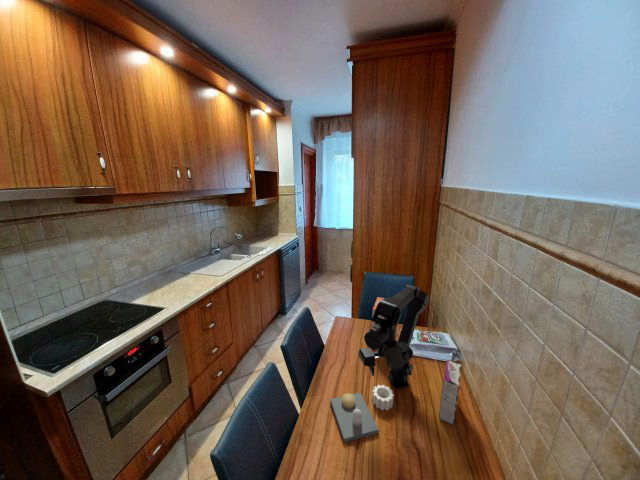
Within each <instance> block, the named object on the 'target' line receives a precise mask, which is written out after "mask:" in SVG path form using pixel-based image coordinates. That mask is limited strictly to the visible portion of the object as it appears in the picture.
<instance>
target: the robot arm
mask: <svg viewBox="0 0 640 480" xmlns="http://www.w3.org/2000/svg"><path fill="white" fill-rule="evenodd" d="M429 303H430V297H429V295H428V294H427V293H426V292H424V291H423V290H422V289H421V288H420V287H419V286H415V285H412V284H406V285H405V286H404V288H403V289H402V290H400V291H399V292H397V293H396V294H395V295H393V296H392V297H385V299H382V300H381V301H380V302H379V303H378V304H377V307H376V310H375V312H374V315H373V317H372V316H371V317H372V318H371V319H370V320H371V322H372V321H373V322H375V326H374V327H372V326H371V328H370V329H369V330H368V331H367V332H366V333H365V335H364V337H363V338H364V342H365V345H366V346H367V347H366V348H365V347H364V348H360V349H359V350H358V357H359V359H360V362H361V363H362V364H363V366H364V367H365V366H366V367H368V369H369V371H370V374H371V376H372V377H375V367H376V366H377V364H376V362H377V359H381V358H384V359H385V361H386V365H387V366H386V367H388V368H389V370H390V371H389V375H387V379H388V380H389V382H390V383H391V384H392V385H393V387H394V388H395V389H396V390H397V389H401V388H406V387H410V386H411V384H410V383H409V381H408V380H409V376H412V374H413V373H412V371H413V368H414V366H413V364H411V358H413V357H414V351H413V349H412V347H411V342H412V340H413V336H414V332H415V330H416V326H417V323H418V319H419V315H420V314H422V313H423V312H424V311H425V310H426V308H427V307H428V306H429ZM405 307H406V309H407V311H406V313H405V315H404V316H405V317H404V320H403V323H402V325H401V326H402V327H401V330H400V334H399V336H398V340H396V337H397V336H396V335H397V326H398V324H399V322H400V320H401V317H402V315H403V312H402V311H403V309H404V308H405ZM378 315H379V316H382V317H384V318H383V319H382V318H379V317H378Z"/></svg>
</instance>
